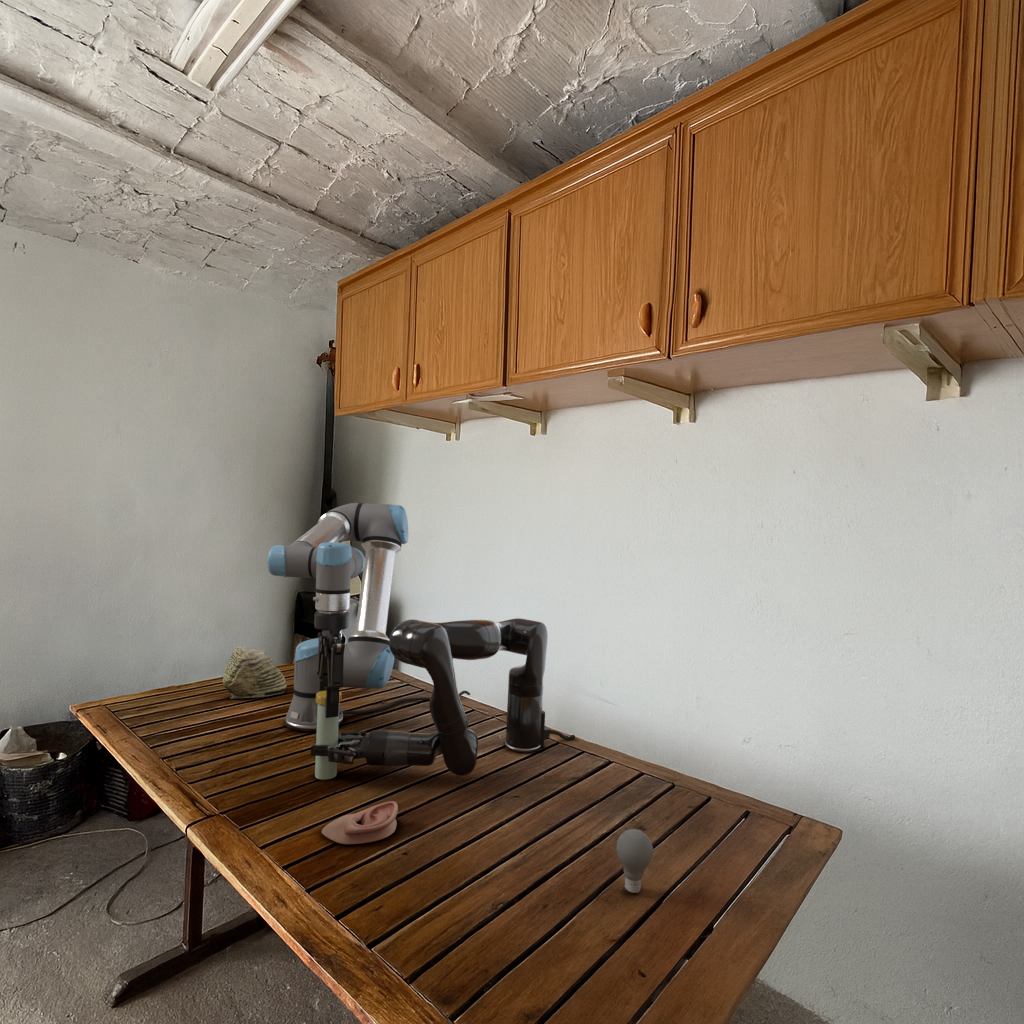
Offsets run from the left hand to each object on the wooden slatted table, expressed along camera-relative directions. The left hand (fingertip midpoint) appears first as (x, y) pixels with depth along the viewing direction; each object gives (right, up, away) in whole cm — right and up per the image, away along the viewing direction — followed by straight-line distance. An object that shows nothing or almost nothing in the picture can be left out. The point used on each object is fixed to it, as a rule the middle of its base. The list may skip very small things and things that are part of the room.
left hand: (328, 712), depth 144 cm
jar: (-1, -14, 0) cm, 14 cm away
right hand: (-3, -8, 0) cm, 8 cm away
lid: (0, +4, 0) cm, 4 cm away
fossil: (-39, -12, +54) cm, 68 cm away
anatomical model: (+13, -15, -23) cm, 30 cm away
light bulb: (+62, -18, -38) cm, 75 cm away
